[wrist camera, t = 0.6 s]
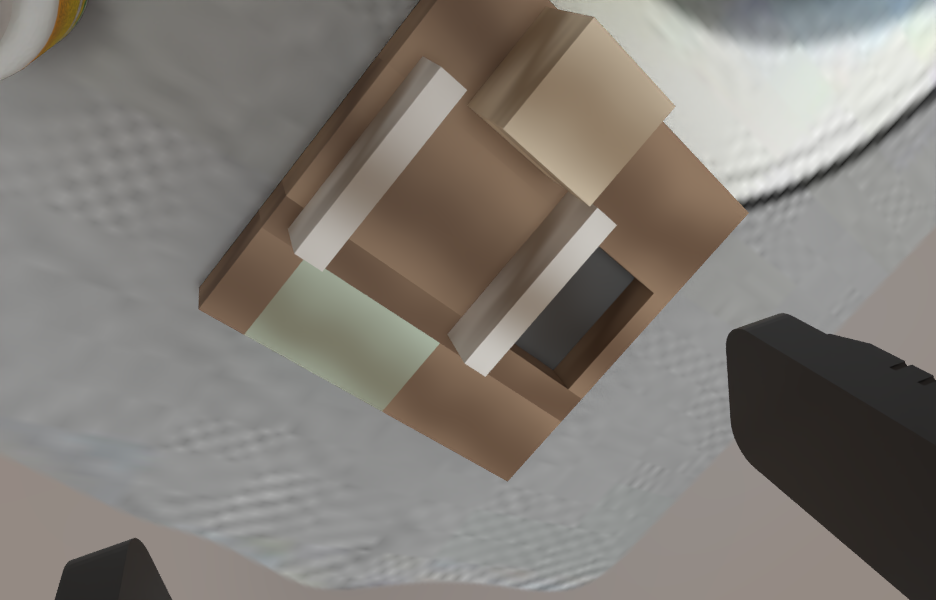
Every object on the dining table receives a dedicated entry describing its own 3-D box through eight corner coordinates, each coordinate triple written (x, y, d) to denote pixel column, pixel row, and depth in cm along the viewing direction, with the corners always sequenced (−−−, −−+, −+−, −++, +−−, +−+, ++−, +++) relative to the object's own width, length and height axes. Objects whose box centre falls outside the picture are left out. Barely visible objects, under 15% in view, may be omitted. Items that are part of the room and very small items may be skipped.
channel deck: (470, -65, 27) (513, -66, 23) (722, 199, 35) (785, 231, 32) (199, 287, 30) (197, 340, 26) (494, 456, 38) (526, 515, 34)
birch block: (545, 7, 27) (594, 17, 24) (620, 86, 29) (675, 106, 26) (466, 105, 28) (503, 129, 24) (546, 175, 30) (589, 206, 26)
